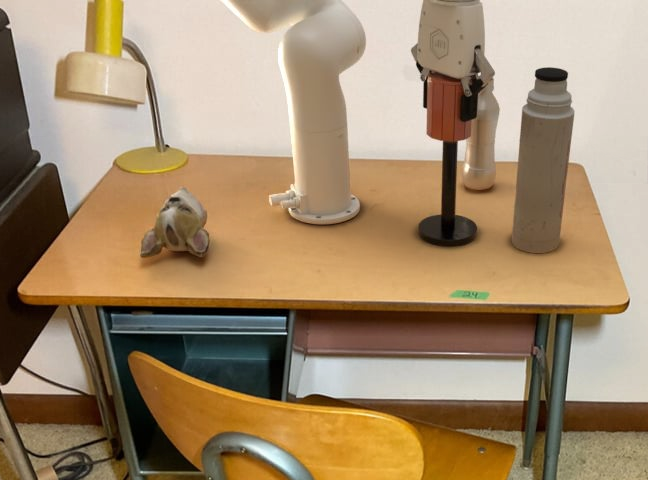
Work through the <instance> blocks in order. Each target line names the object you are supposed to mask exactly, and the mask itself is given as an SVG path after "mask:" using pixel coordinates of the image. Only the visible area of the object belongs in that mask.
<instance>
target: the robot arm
mask: <svg viewBox="0 0 648 480" xmlns="http://www.w3.org/2000/svg"><path fill="white" fill-rule="evenodd" d="M220 1H221V2H222V3H223V4H224V5H225V6H226V7H227V8H228V9H229V10H230V11H232V12H233V14H234V15H236V16H237V18H239V20H241V22H243V23H244V25H246V26H247V27H248V28H249V29H251V30H252V31H254V32H257V33H259V34H271V33H273V32H277V31H279V30H281V29H283V28H285V27H286V28H287V26H290V27H289V28H288V29H287V30H286V32H285V33H284V34H283V35H282V37H281V40H280V42H279V45H278V50H277V51H278V52H277V58H278V65H279V69H280V73H281V77H282V81H283V85H284V89H285V90H284V91H285V94H286V102H287V110H288V119H289V120H288V121H289V129H290V130H289V131H290V139H291V152H292V163H293V164H292V165H293V174H294V183H290V184H289V185H290V189H288V190H285V192H283V193H273V194H269V195H268V201H269V204H270V206H271V207H275V206H280V208H281V210H286V209H288V213H289V215H290V216H291V217H292V218H294V219H295V220H297V221H299V222H302V223H306V224H311V225H333V224H334V225H335V224H339V223H343V222H346V221H348V220H351V219H353V218H354V217H356V216H357V215H358V214H359V213H360V211H361V203H360V200H359V198H358V197H356V196H355V195H353V194H352V193H351V177H350V176H351V175H350V151H349V133H348V131H349V130H348V113H347V112H348V111H347V102H346V99H345V95H344V92H343V89H342V86H341V81H340V75H341V74H342V73H344V72H345V71H346V70H348V69H350V68H351V67H353V66H355V65H356V64H357V63H358V62H359V61H360V60H361V58H362V57H363V55H364V54H365V51H366V45H367V36H366V32H365V29H364V26H363V24H362V22H361V20H360V19H359V18H358V16H357V15H356V13H354V11H353V10H352V9H351V8H350V7H349V6H348V5H347V4H346V3H345V2H344V1H343V0H220ZM483 6H484V5H483V2H481V0H422V4H421V10H420V15H419V23H418V31H417V42H416V44H414V46H412V47H411V48H410V53H411V55H412V57H413V59H414V62H415V66H416V68H417V71H418V72H419V74H420V75H419V79H420V81H421V82H423V83H422V84H423V86H422V87H423V88H422V89H423V90H422V107H423V108H424V109H426V110H427V82H428V73H429V72H431V71H435V72H438V73H441V74H444V75H447V76H450V77H454V78H460V80H461V83H462V87H463V90H464V93H465V94H464V95H462V96H461V110H460V120H461V121H462V122H467V121H470V120H472V119H475V118H476V117H477V107H478V93H481V92H482V90H483V89H484V88H485V87H486V86H487V85H488V82H489V81H490V80H491V79H492V78H494V76H495V75H496V72H495V69H494V68H493V67H492V65H491V64H490V62H489V60H488V59H487V57H486V56H485V53H486V52H485V50H486V33H485V16H484V8H483ZM479 74H480V75H479ZM469 77H471V81H472V85H470V81H469Z"/></svg>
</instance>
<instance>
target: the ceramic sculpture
mask: <svg viewBox="0 0 648 480" xmlns="http://www.w3.org/2000/svg"><path fill="white" fill-rule="evenodd" d="M207 222H208V212H207V210H206V209H205V208H204V206H203V204H202V203H201V202H200V200H199V199H198V198H197V197H196V196H195V195H194V194H193V193H192V192H190V191H189V190H188V189H187V188H186V187H185V186H181V187H180V188H179V190H177V191H176V192H175V193H173V194H171V195H170V196H169V198H167V199H166V200H165V202H164V203H163V206H162V207H161V209H160V210H159V212H158V213H157V215H156V217H155V221H154V225H153V228H152V229H149V230H148V231H146V232H145V233H144V235H143V237H142V238H141V246H140V254H139V257H140V258H141V259H144V258H150V257H155V256H158V255H159V254H160V253H162V250H163V248H165V249H166V250H168V251H170V252H187V251H188V252H189V253H190V254H192V255H194V256H196V257H200V258H202V257H204V256H205V255H206V254H207V253H208V250H209V248H210V241H211V240H210V234H209V232H208V231H207V230H206V229H205V227H206V225H207Z"/></svg>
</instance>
